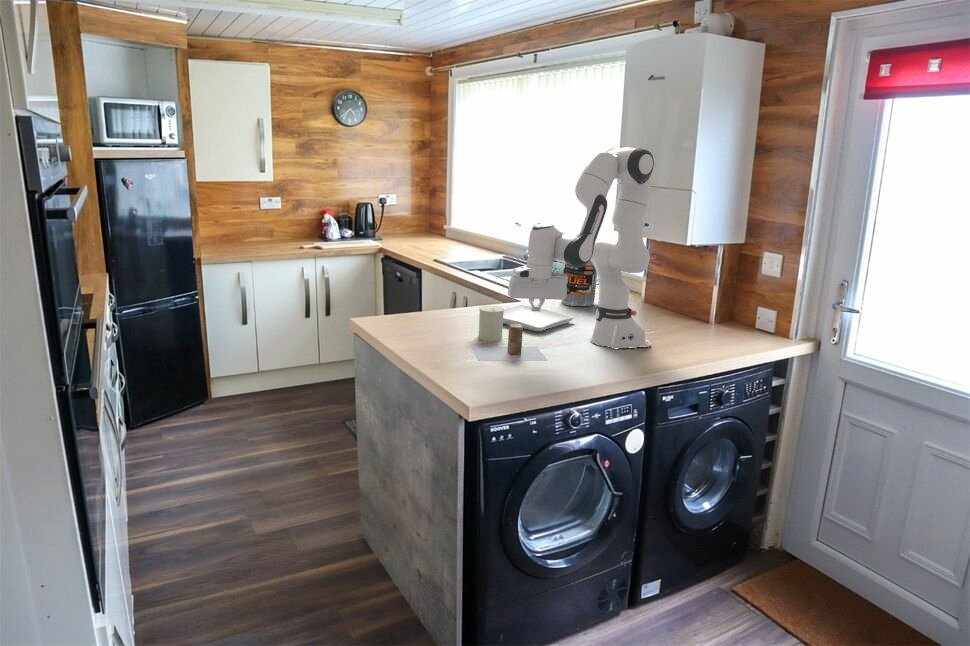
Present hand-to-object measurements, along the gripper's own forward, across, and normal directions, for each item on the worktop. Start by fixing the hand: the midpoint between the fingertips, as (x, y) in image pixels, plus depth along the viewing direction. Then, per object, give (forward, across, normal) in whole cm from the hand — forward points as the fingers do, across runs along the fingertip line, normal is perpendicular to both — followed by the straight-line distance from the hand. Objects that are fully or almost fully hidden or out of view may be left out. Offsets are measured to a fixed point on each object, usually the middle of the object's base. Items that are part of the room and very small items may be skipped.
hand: (535, 311), depth 231 cm
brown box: (+15, +6, 0) cm, 17 cm away
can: (+16, +11, -20) cm, 28 cm away
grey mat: (+16, +8, 0) cm, 18 cm away
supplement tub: (+14, -41, -77) cm, 89 cm away
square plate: (+16, -10, -43) cm, 47 cm away
